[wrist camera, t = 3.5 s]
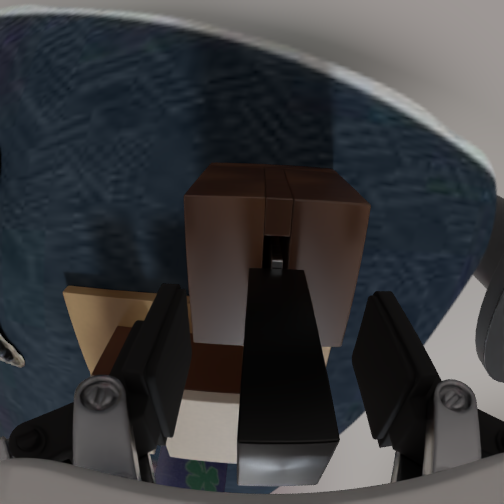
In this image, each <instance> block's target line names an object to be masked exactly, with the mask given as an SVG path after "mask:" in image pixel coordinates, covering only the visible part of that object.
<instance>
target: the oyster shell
mask: <svg viewBox="0 0 504 504" xmlns="http://www.w3.org/2000/svg"><path fill="white" fill-rule="evenodd" d="M0 360H1V361H5V362H6V363H7V364H8V363H10V364H12V365H15V366H18V367H23V366H24V365H25V364H24V362H25V361H24V360H23V357H22V356H21V355H19V354H18V352H17V351H16V349H14V347H13V346H12V345H10V344H9V343H7V342H6V340H4V338H3V337H2V336H1V333H0Z"/></svg>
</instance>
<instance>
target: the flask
mask: <svg viewBox="0 0 504 504" xmlns="http://www.w3.org/2000/svg"><path fill="white" fill-rule="evenodd" d="M227 464H228V463H220V462H209V461H199V460H190V459H182V458H175V457H170V455H169V453H168V450H167V447H166V446H161V450H160V455H159V458H158V463H157V468H156V473H155V481H156V484H159V485H165V486H171V487H178V488H185V489H193V490H202V491H212V492H224V490H225V483H226V472H227Z"/></svg>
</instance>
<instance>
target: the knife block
mask: <svg viewBox="0 0 504 504" xmlns="http://www.w3.org/2000/svg"><path fill="white" fill-rule="evenodd" d="M370 207H371V205H370V204H369V203H368V202H367V201H366V200H365V199H364V198H363V197H362V196H361V195H360V194H359V193H358V192H357V191H356V190H355V189H354V188H353V187H352V186H351V185H350V184H349V183H347V182H346V181H345V180H344V179H343V178H342V177H341V176H340V175H339V174H338V173H336V171H335V170H333V169H330V168H318V167H305V166H289V165H271V164H247V163H211V164H210V165H209V166H208V167H207V168H206V169H205V171H204V172H203V173H202V174H201V175H200V177H199V178H198V179H197V180H196V181H195V183H194V184H193V185H192V186H191V187H190V189H189V190H188V191H187V192H186V193H185V195H184V218H185V239H186V257H187V272H188V287H189V299H190V312H191V323H192V333H193V342H195V343H208V344H224V345H242V346H243V344H244V330H245V316H246V302H247V288H248V274H249V268H266V261H265V247H266V236H280V243H281V251H282V258H283V266H282V269H295V270H304V271H305V276H306V280H307V284H308V288H309V292H310V297H311V301H312V305H313V310H314V314H315V319H316V323H317V328H318V332H319V337H320V342H321V346H322V347H340V346H341V345H342V341H343V337H344V334H345V330H346V326H347V322H348V318H349V314H350V309H351V305H352V301H353V296H354V292H355V287H356V283H357V278H358V273H359V269H360V264H361V259H362V253H363V248H364V243H365V237H366V232H367V226H368V220H369V214H370Z"/></svg>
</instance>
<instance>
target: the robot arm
mask: <svg viewBox="0 0 504 504" xmlns="http://www.w3.org/2000/svg"><path fill="white" fill-rule="evenodd" d="M191 358H192V347H191V338H190V328H189V318H188V307H187V295H186V290H185V289H181V287H180V285H179V284H166V283H163V284H162V285H161V287H160V289H159V291H158V293H157V295H156V297H155V299H154V301H153V303H152V305H151V307H150V309H149V311H148V313H147V315H146V317H145V320H144V321H143V320H137V321H135V323H134V324H133V326H132V328H131V330H130V332H129V334H128V336H127V338H126V340H125V343H124V345H123V347H122V349H121V351H120V353H119V355H118V357H117V359H116V361H115V363H114V365H113V367H112V370H111V372H110V374H109V375H95V376H91V377H89V378H87V379H85V380H84V381H82V382H81V383H80V384H79V385H78V387H77V389H76V391H75V395H74V402H73V403H70V404H68V405H66V406H63V407H61V408H59V409H56V410H54V411H51V412H49V413H46V414H44V415H42V416H39V417H37V418H34V419H32V420H29V421H27V422H24V423H22V424H20V425H18V426H17V427H16V428H15V429H14V430H13V431H12V433H11V435H10V438H9V439H6V438H5V437H4V436H3V437H0V504H504V421H501V420H499V419H497V418H495V417H493V416H491V415H489V414H487V413H485V412H483V411H481V410H479V409H477V402H476V398H475V394H474V393H473V391H472V390H471V388H469V387H468V386H467V385H466V384H464V383H462V382H460V381H457V380H450V379H448V380H444V381H441V379H440V377H439V375H438V373H437V371H436V369H435V367H434V365H433V363H432V361H431V359H430V357H429V356H428V354H427V352H426V350H425V348H424V346H423V344H422V343H421V341H420V339H419V337H418V335H417V334H416V332H415V330H414V329H413V327H412V325H411V323H410V322H409V320H408V318H407V316H406V315H405V313H404V311H403V309H402V308H401V306H400V304H399V303H398V301H397V299H396V298H395V296H394V294H393V293H392V292H390V291H376V292H375V293H374V294H373V296H369V298H368V301H367V305H366V309H365V312H364V316H363V320H362V323H361V327H360V331H359V334H358V338H357V341H356V344H355V348H354V351H353V355H352V364H353V368H354V371H355V375H356V378H357V382H358V385H359V389H360V392H361V396H362V399H363V403H364V407H365V411H366V414H367V418H368V422H369V426H370V430H371V434H372V437H373V438H374V439H377V440H378V443H379V447H380V448H381V447H386V446H392V447H393V449H394V450H395V451H396V453H395V460H394V466H393V472H392V477H391V483H388V484H382V485H377V486H370V487H363V488H357V489H349V490H340V491H330V492H319V493H318V492H317V493H301V494H243V493H225V492H212V491H202V490H193V489H185V488H178V487H171V486H165V485H159V484H156V481H155V476H154V471H153V467H152V462H151V457H150V452H151V451H153V450H154V449H156V448H157V445H161V446H166V441H167V437H169V438H172V437H173V436H174V432H175V427H176V423H177V418H178V414H179V409H180V405H181V401H182V396H183V392H184V388H185V384H186V379H187V375H188V371H189V367H190V363H191Z"/></svg>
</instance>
